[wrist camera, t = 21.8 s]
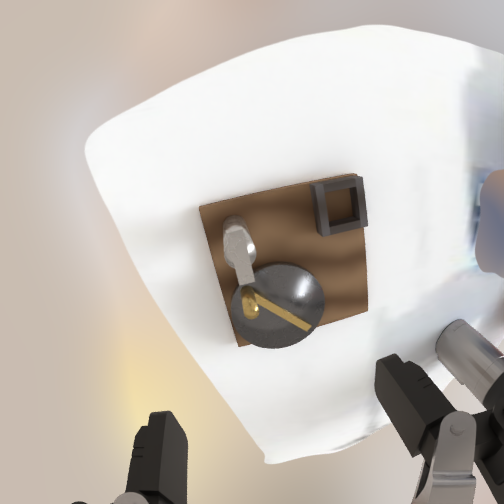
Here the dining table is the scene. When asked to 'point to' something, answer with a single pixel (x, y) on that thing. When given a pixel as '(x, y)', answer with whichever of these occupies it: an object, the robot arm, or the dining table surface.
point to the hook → (239, 248)
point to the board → (301, 238)
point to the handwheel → (278, 305)
